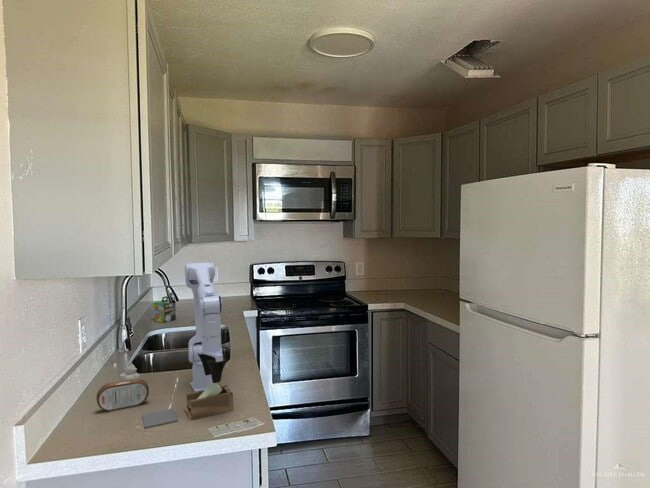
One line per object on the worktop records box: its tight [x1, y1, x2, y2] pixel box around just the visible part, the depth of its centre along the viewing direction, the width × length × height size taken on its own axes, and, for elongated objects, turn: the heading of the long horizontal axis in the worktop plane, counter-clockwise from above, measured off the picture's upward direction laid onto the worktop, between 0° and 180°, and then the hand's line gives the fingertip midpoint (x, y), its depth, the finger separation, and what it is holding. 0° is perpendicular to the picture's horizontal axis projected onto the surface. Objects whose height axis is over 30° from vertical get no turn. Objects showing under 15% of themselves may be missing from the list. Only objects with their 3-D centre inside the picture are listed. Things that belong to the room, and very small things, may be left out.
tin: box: [95, 378, 150, 412], centre depth 133 cm, size 15×3×8 cm, turn 118°
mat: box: [141, 407, 179, 429], centre depth 125 cm, size 9×9×1 cm
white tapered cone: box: [119, 362, 141, 381], centre depth 153 cm, size 5×7×8 cm
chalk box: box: [153, 295, 177, 324], centre depth 252 cm, size 9×9×15 cm
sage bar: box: [197, 382, 222, 399], centre depth 130 cm, size 4×10×2 cm
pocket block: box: [184, 385, 234, 421], centre depth 130 cm, size 7×13×5 cm, turn 118°
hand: (212, 378), depth 130 cm, fingers open, 7 cm apart
